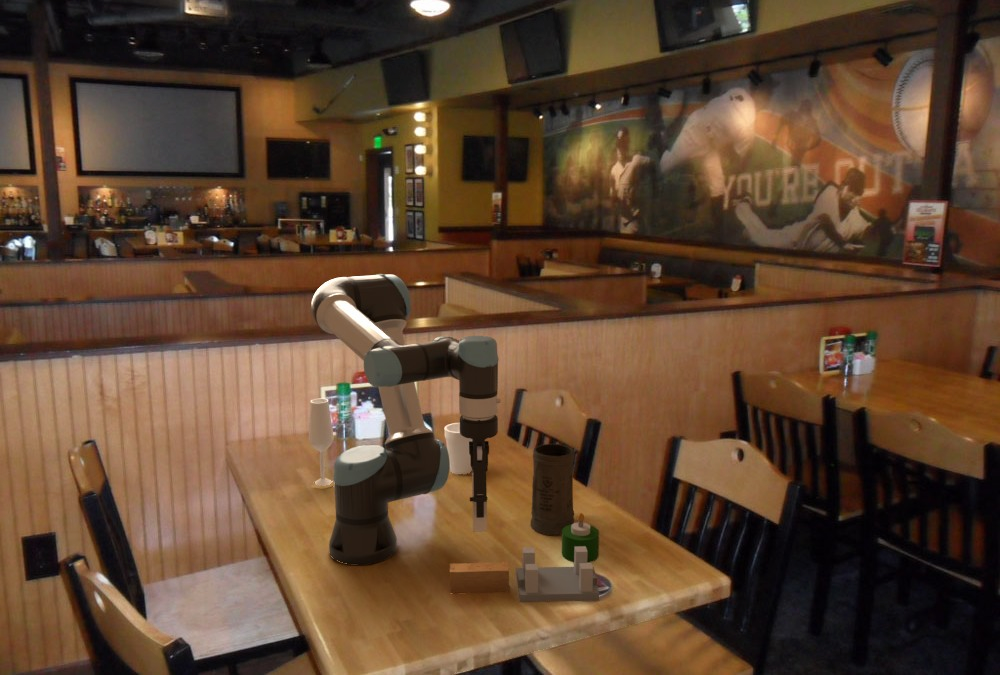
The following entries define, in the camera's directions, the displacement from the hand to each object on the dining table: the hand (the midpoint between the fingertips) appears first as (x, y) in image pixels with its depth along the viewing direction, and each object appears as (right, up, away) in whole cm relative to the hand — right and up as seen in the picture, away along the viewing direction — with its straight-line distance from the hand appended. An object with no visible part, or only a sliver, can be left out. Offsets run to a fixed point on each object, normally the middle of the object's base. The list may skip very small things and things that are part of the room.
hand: (479, 516), depth 156 cm
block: (0, -16, +3) cm, 16 cm away
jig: (+16, -15, +4) cm, 23 cm away
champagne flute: (-45, -5, +57) cm, 73 cm away
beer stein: (+17, -9, +35) cm, 40 cm away
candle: (+22, -13, +18) cm, 31 cm away
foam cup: (-7, -3, +68) cm, 68 cm away
